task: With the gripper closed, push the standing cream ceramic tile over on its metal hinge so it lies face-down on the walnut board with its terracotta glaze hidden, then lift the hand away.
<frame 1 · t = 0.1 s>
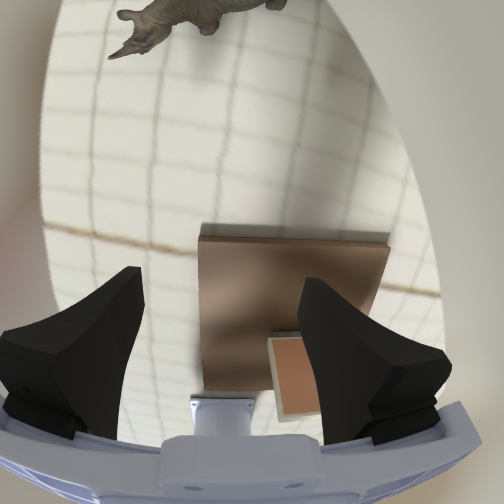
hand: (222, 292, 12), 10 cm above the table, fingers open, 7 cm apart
board: (285, 326, 27), on the table
tile: (320, 373, 22), point 6 cm above the table, hinge at 85.0°
rhino figurine: (208, 14, 14), on the table
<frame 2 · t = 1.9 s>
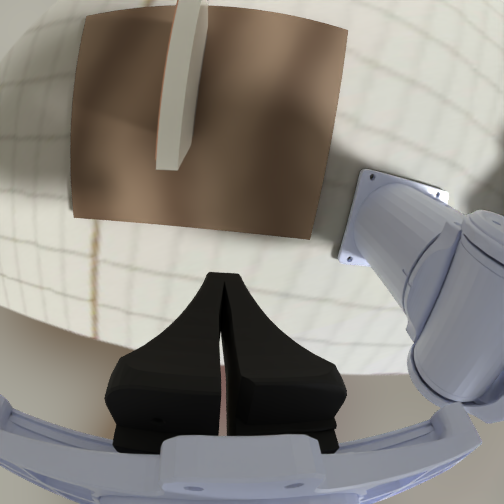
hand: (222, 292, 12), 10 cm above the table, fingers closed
board: (195, 113, 17), on the table
tile: (186, 74, 11), point 6 cm above the table, hinge at 85.0°
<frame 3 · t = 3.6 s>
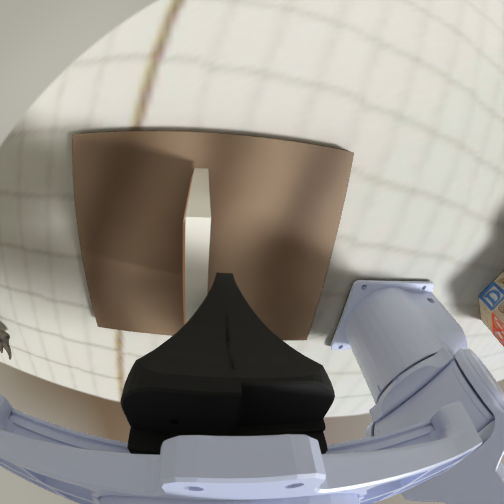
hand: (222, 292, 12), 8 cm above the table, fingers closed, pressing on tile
board: (202, 246, 20), on the table
tile: (195, 264, 14), point 6 cm above the table, hinge at 85.8°, touching gripper
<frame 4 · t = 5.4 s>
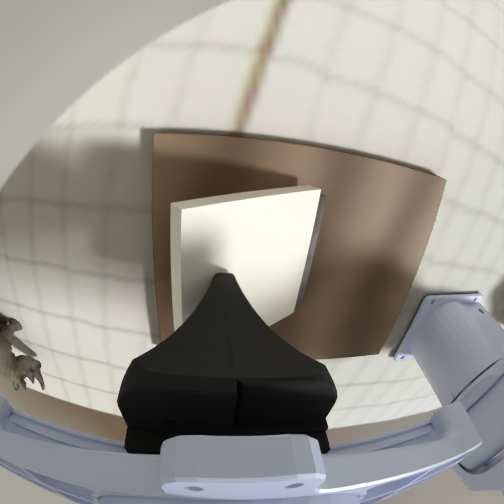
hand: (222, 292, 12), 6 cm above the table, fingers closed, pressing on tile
board: (298, 268, 19), on the table
tile: (249, 273, 14), point 4 cm above the table, hinge at 142.7°, touching gripper
rhino figurine: (10, 320, 20), on the table
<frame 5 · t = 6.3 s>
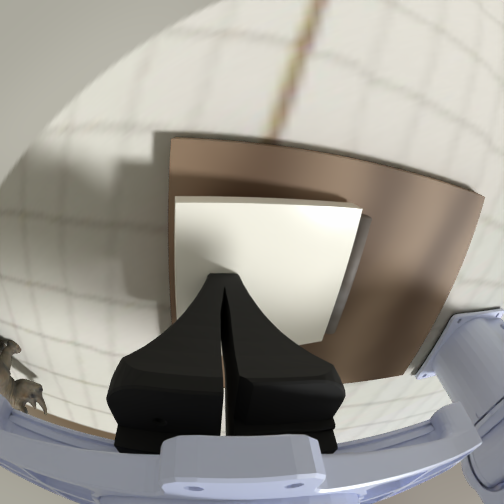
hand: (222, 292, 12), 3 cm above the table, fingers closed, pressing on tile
board: (331, 293, 17), on the table
tile: (264, 284, 13), point 2 cm above the table, hinge at 168.7°, touching gripper
rhino figurine: (8, 341, 18), on the table
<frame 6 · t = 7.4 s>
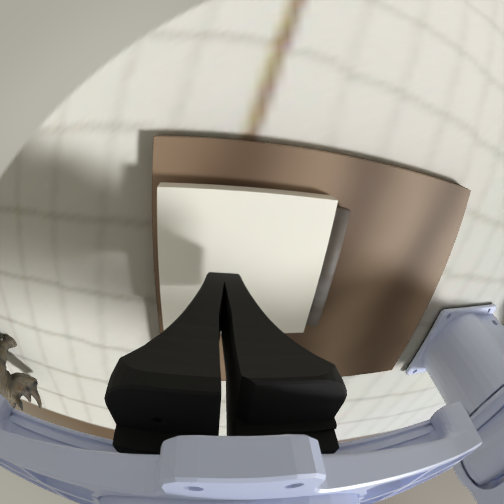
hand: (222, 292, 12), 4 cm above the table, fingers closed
board: (314, 286, 17), on the table
tile: (241, 268, 14), point 2 cm above the table, hinge at 177.8°
rhino figurine: (4, 336, 18), on the table
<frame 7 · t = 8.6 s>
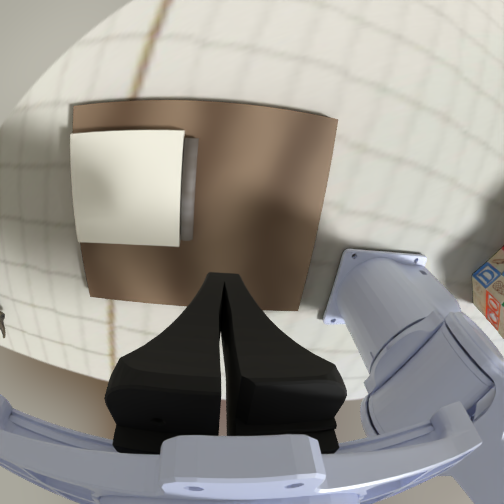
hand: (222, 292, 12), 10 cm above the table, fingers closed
board: (193, 211, 21), on the table
tile: (124, 188, 18), point 2 cm above the table, hinge at 177.8°
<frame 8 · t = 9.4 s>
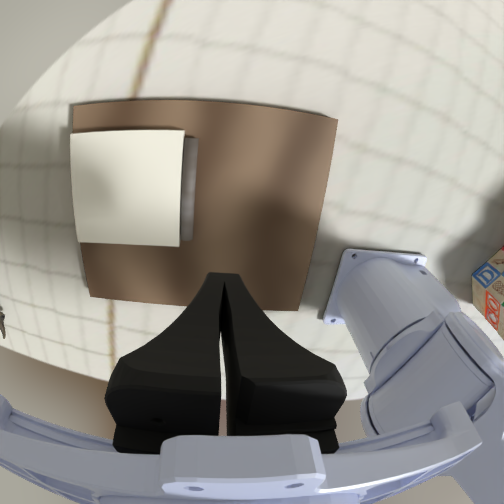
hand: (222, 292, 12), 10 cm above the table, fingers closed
board: (193, 211, 21), on the table
tile: (124, 188, 18), point 2 cm above the table, hinge at 177.8°
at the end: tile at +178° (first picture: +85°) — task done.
